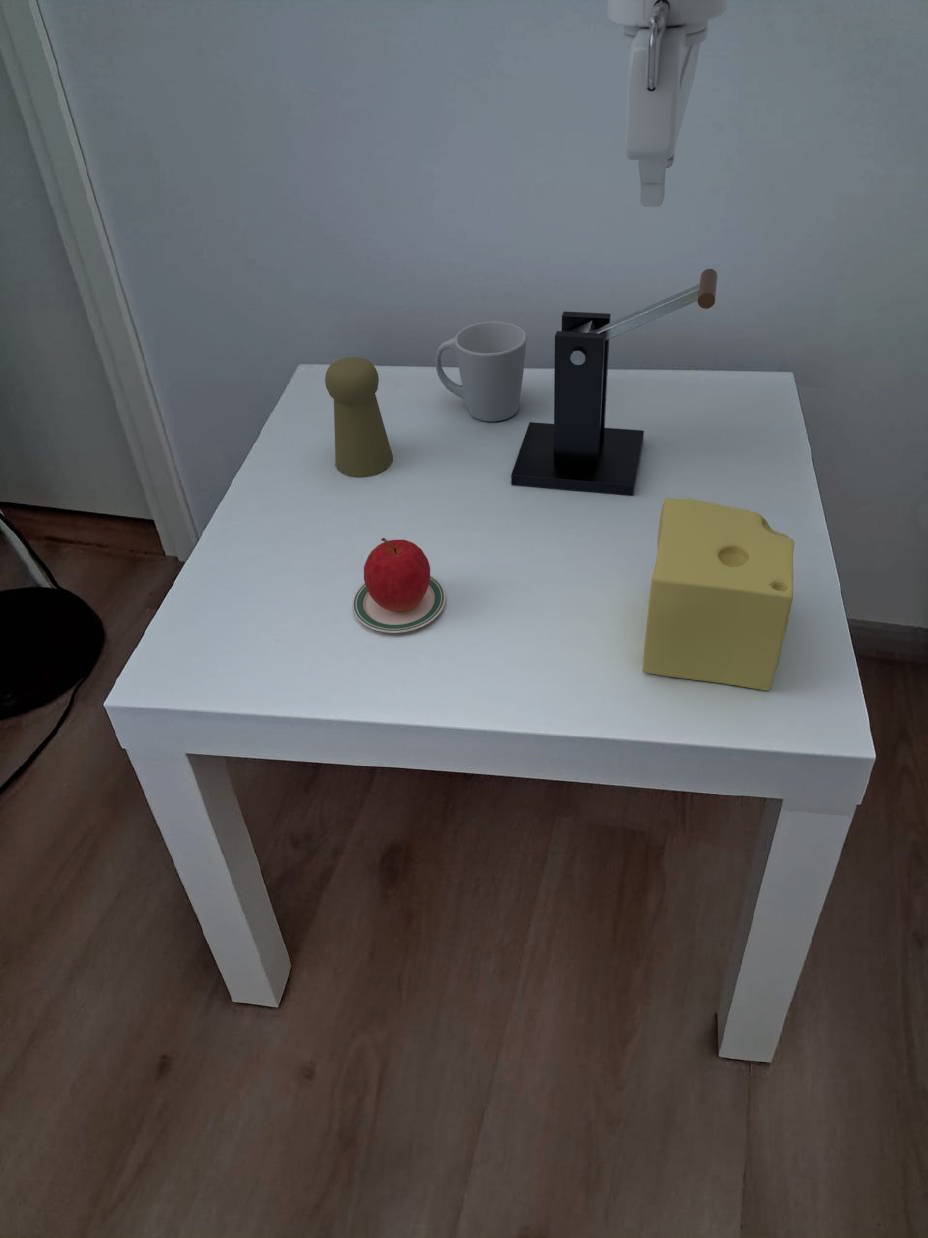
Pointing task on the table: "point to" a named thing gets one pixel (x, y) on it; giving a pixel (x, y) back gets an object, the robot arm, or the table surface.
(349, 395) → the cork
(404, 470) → the table surface
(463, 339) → the cup
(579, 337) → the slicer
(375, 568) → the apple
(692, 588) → the cheese
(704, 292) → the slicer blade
